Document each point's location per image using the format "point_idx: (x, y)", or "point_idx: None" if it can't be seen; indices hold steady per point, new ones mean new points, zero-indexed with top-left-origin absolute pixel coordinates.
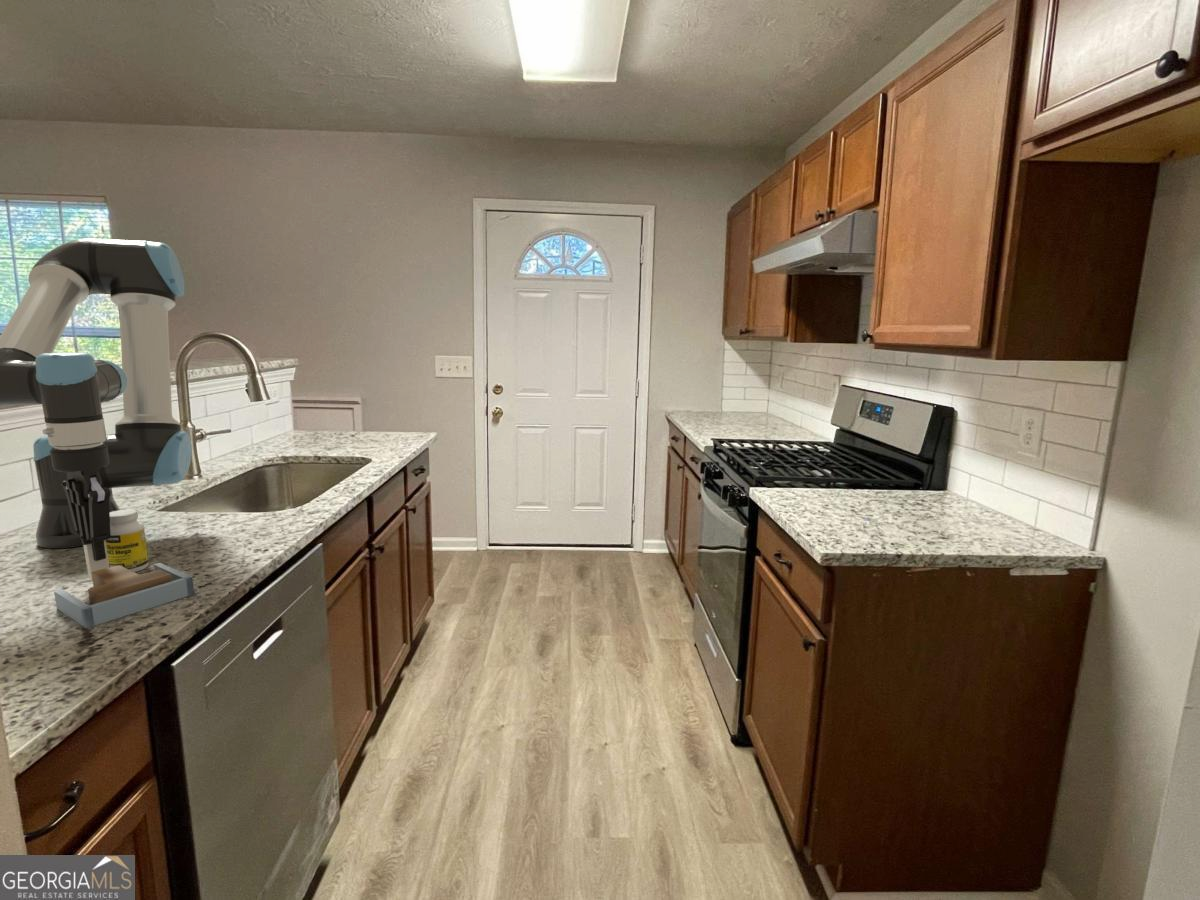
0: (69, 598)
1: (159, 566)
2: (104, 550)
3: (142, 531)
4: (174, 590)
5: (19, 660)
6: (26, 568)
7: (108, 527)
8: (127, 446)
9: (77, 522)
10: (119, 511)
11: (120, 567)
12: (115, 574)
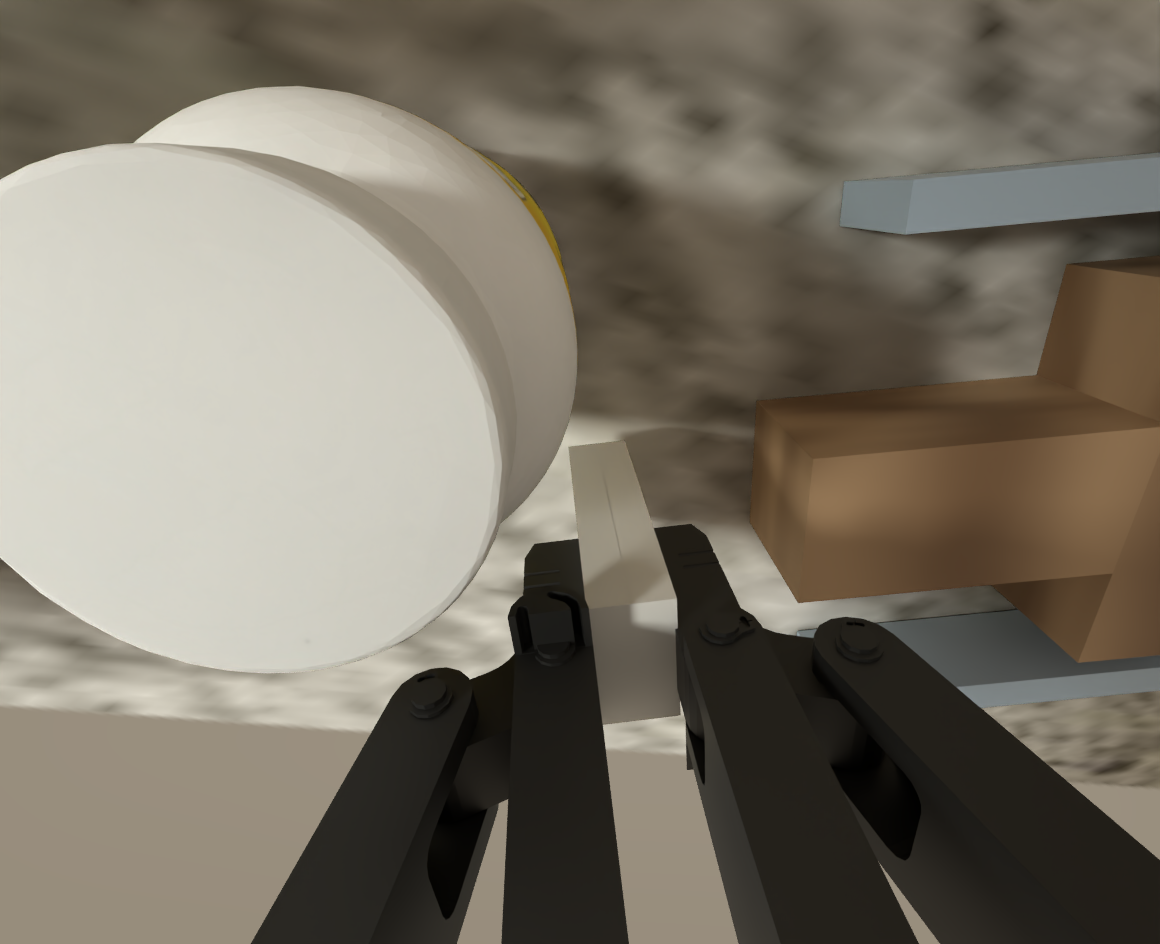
0: (1007, 697)
1: (1002, 219)
2: (720, 568)
3: (493, 168)
4: None
5: (1149, 771)
6: (13, 656)
7: (1008, 748)
8: None
9: (453, 918)
10: (51, 459)
11: (878, 467)
12: (994, 523)
